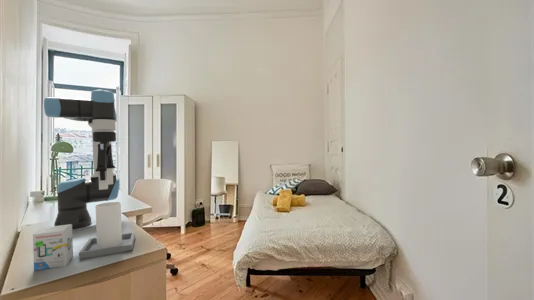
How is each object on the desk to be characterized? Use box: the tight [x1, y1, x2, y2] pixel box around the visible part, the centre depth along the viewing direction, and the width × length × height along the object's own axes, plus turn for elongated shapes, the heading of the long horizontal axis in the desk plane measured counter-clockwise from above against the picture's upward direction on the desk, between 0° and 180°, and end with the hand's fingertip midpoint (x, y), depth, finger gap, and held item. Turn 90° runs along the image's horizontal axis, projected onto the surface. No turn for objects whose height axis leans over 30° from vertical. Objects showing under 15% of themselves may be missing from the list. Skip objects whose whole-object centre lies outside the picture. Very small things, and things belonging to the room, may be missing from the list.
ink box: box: [32, 224, 74, 271], centre depth 87 cm, size 9×8×12 cm
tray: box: [78, 231, 136, 261], centre depth 100 cm, size 16×16×2 cm
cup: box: [95, 201, 123, 249], centre depth 100 cm, size 8×8×16 cm
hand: (106, 186), depth 101 cm, fingers open, 13 cm apart
